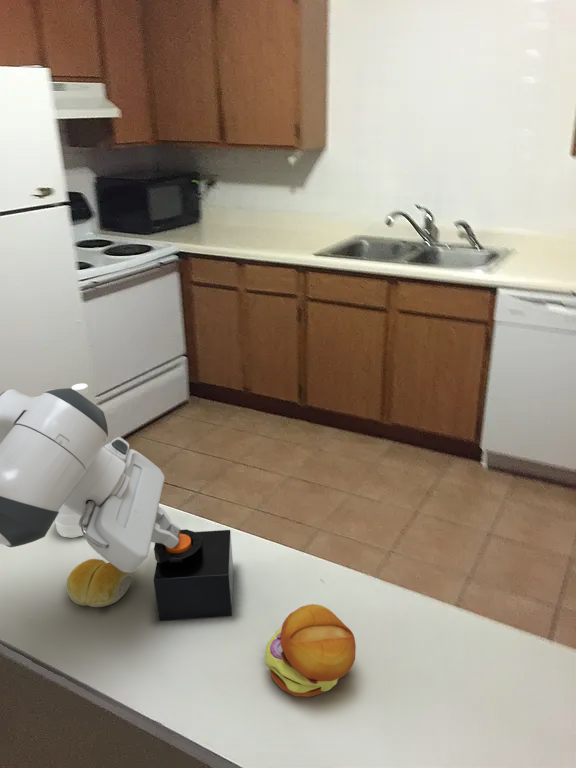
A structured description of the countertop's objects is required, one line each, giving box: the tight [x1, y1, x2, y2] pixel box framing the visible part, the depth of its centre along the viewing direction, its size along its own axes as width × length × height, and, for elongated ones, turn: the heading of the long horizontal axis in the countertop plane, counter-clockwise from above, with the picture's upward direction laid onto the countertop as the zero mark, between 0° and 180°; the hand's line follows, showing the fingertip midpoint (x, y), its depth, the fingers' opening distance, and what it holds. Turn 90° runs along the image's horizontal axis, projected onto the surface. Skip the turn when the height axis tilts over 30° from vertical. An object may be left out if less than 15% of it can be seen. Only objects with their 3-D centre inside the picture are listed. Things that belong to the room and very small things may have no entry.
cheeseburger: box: [264, 603, 357, 698], centre depth 81 cm, size 10×11×10 cm
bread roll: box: [66, 558, 133, 608], centre depth 97 cm, size 8×9×4 cm
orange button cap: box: [165, 534, 192, 553], centre depth 93 cm, size 4×4×2 cm
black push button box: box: [152, 528, 234, 622], centre depth 94 cm, size 10×10×9 cm
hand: (176, 539), depth 92 cm, fingers closed, pressing on orange button cap
